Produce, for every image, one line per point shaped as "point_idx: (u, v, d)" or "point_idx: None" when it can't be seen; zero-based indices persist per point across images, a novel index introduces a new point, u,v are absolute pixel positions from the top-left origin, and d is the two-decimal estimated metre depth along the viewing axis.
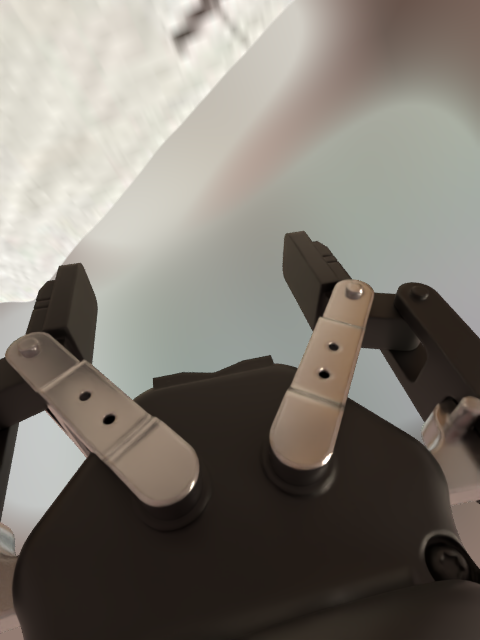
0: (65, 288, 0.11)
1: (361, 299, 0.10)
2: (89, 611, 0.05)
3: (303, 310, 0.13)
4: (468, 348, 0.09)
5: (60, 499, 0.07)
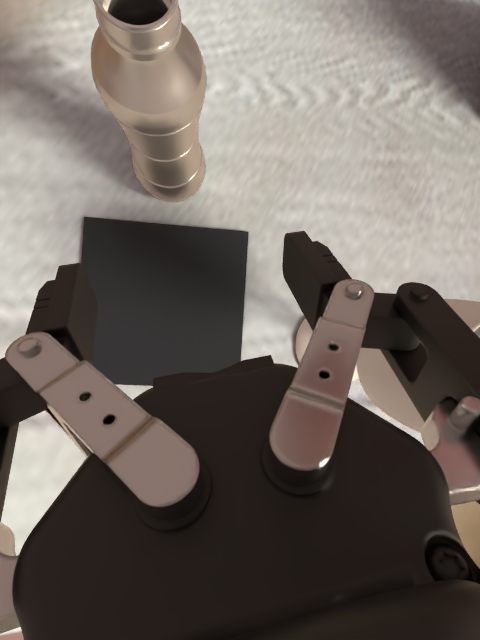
0: (65, 288, 0.11)
1: (361, 299, 0.10)
2: (89, 611, 0.05)
3: (303, 310, 0.13)
4: (468, 347, 0.09)
5: (60, 499, 0.07)
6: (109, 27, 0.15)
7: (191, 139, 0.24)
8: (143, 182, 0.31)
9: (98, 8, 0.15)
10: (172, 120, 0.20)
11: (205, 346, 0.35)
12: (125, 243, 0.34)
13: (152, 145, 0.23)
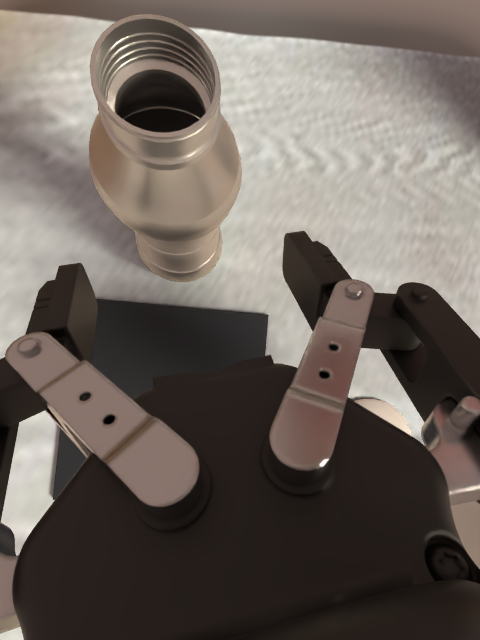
0: (65, 288, 0.11)
1: (361, 299, 0.10)
2: (89, 611, 0.05)
3: (303, 310, 0.13)
4: (468, 348, 0.09)
5: (60, 499, 0.07)
6: (117, 130, 0.10)
7: (213, 233, 0.19)
8: (148, 264, 0.26)
9: (101, 106, 0.10)
10: (195, 229, 0.15)
11: None
12: (123, 328, 0.28)
13: (165, 245, 0.18)
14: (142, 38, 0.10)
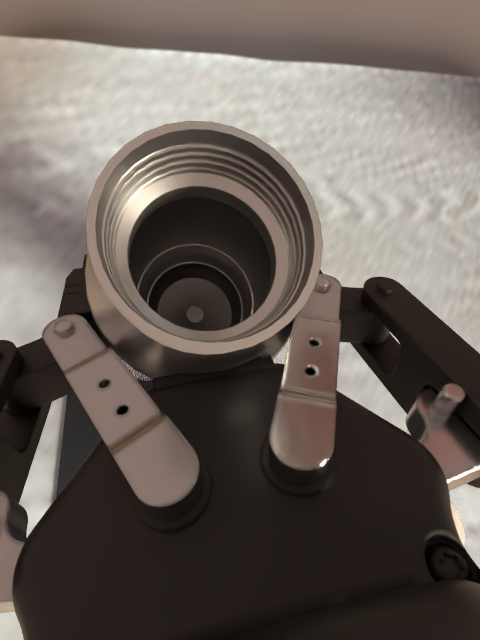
0: None
1: (328, 293, 0.11)
2: (78, 618, 0.05)
3: None
4: (439, 336, 0.09)
5: (59, 499, 0.07)
6: None
7: None
8: None
9: (107, 295, 0.05)
10: None
11: None
12: None
13: None
14: (178, 153, 0.06)
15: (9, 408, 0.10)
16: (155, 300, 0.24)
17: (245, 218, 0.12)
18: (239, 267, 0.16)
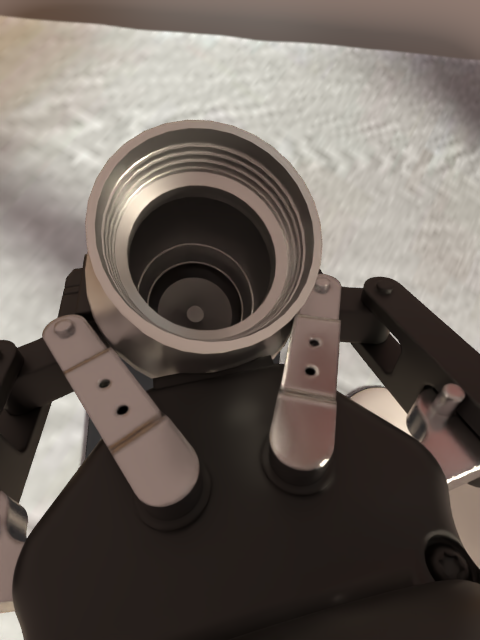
0: None
1: (327, 293, 0.11)
2: (78, 618, 0.05)
3: None
4: (439, 336, 0.09)
5: (60, 499, 0.07)
6: None
7: None
8: None
9: (107, 294, 0.05)
10: None
11: None
12: None
13: None
14: (177, 152, 0.06)
15: (9, 408, 0.10)
16: (155, 300, 0.24)
17: (245, 218, 0.12)
18: (239, 267, 0.16)
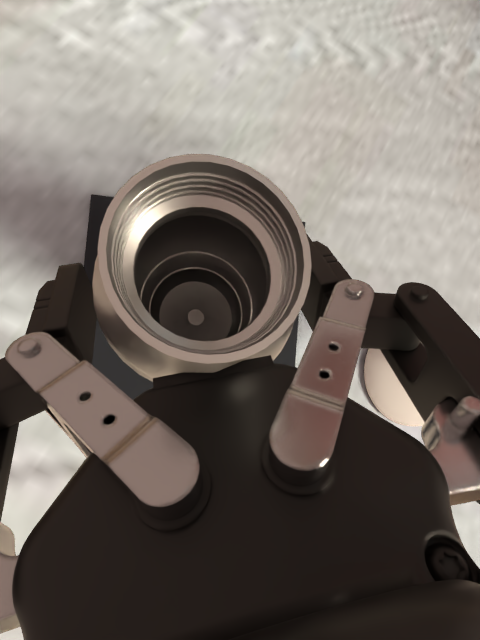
0: (65, 288, 0.11)
1: (361, 299, 0.10)
2: (89, 611, 0.05)
3: (303, 310, 0.13)
4: (468, 348, 0.09)
5: (60, 499, 0.07)
6: None
7: None
8: None
9: (117, 312, 0.06)
10: None
11: None
12: None
13: None
14: (179, 180, 0.07)
15: None
16: (156, 304, 0.24)
17: None
18: (238, 274, 0.16)
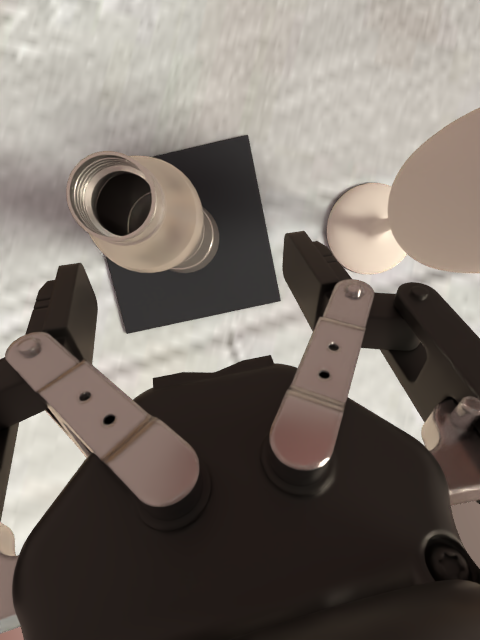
0: (65, 288, 0.11)
1: (361, 299, 0.10)
2: (89, 611, 0.05)
3: (303, 310, 0.13)
4: (468, 348, 0.09)
5: (60, 499, 0.07)
6: None
7: (200, 240, 0.24)
8: None
9: (85, 230, 0.15)
10: (180, 258, 0.20)
11: (236, 267, 0.34)
12: None
13: None
14: (92, 165, 0.15)
15: None
16: None
17: None
18: None
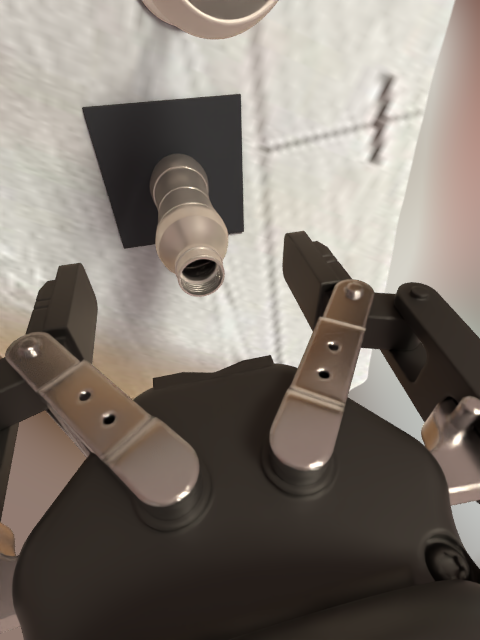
0: (65, 288, 0.11)
1: (361, 299, 0.10)
2: (89, 611, 0.05)
3: (303, 310, 0.13)
4: (468, 347, 0.09)
5: (59, 499, 0.07)
6: (219, 281, 0.28)
7: (200, 195, 0.32)
8: None
9: None
10: (222, 224, 0.30)
11: (205, 136, 0.38)
12: (134, 217, 0.43)
13: None
14: (181, 282, 0.27)
15: None
16: None
17: None
18: None
